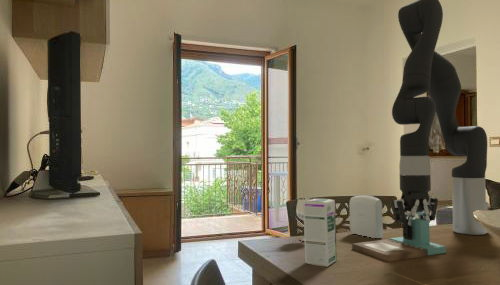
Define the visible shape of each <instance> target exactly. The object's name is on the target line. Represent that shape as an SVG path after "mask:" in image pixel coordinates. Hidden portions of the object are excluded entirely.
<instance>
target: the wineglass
mask: <svg viewBox="0 0 500 285" xmlns="http://www.w3.org/2000/svg"><path fill="white" fill-rule="evenodd" d="M312 199H314V198H311V197H301V198H298V199H297V202H296V209H295V210H296V216H297V218H298V219H300V220H302V221H304V204H303V202H304V201H309V200H312ZM303 240H304V237H303Z"/></svg>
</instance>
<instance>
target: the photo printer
mask: <svg viewBox="0 0 500 285" xmlns="http://www.w3.org/2000/svg"><path fill="white" fill-rule="evenodd" d="M348 205H349V206H348V207H349V232H350V233H354V234H358V235H362V236H361V237H363V236H367V237H366V238H369V237H371V238H370V239H375V238H381V239H383V237H384V227H383V226H384V225H383V224H384V222H383V221H384V220H383V203H382V200H381V199H379V198H377V197H375V196H372V195H367V194H365V195H364V194H363V195H356V196H352V197H351V198H350V200H349V204H348Z"/></svg>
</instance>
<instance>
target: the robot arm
mask: <svg viewBox="0 0 500 285" xmlns="http://www.w3.org/2000/svg"><path fill="white" fill-rule="evenodd" d="M443 10H444V9H443V7H442V5H441V2H440V0H415V1H413V2H410V3H408V4H407V5H404V6H402V7H400V9H398V12H397V16H398V17H397V18H398V19H397V20H398V22H399V26H400V29H401V31H402V33H403V35H404V37H405V39H406V42H407V43H408V46H409V48H410V49H411V51H410V53H409V54H408V56H407V58H406V59H405V62H404V66H403V71H402V82H401V85H400V88H399V92H398V93H397V95H396V97H395V100H394V102H393V105H392V109H391V115H392V119H393V121H394V122H395V123H396V124H397V125H403V126H404V125H419V126H418V128H417V129H416V130H415V131H413V132H412V131H411V132H409V133H405V134H402V135H401V136H400V139H399V155H400V156H399V165H398V167H399V169H398V170H399V190H400V191H401V197H400V198H399V199H393V200H392V201H391V203H392V210H393V212H394V217H395V218H394V219H395V222H396V223H399V224H401V225H402V237H403V236H404V238H405V239H408V240H412V225H411V224H412V220H413V217H414V218H416V215H417V216H418V217H417V218H419V219H424V220H429V224H430V222H432V221H435V219H436V215H437V208H438V202H439V200H438V198H437V197H430V195H429V192H430V191H431V189H432V188H431V187H432V181H431V180H432V179H431V175H432V174H431V162H430V144H429V142H430V135H431V131H432V130H431V129H432V126H433V122H434V119H435V115H436V116H437V121H438V122H439V128H440V131H441V135H442V138H443V142H444V145H445V148H446V149H447V151H448V152H449V154H451V155H452V156H458V157H459V156H460V157H461V156H462V157H465V156H466V160H465V161H464V162H463V163H462V164H461V165H458V166H455V167H453V168H452V170H451V194H452V195H451V196H452V198H451V199H452V231H453V232H454V233H457V234H463V235H471V236H473V235H476V236H478V235H479V236H480V235H486V234H487V233H489V230H488V231H487V230H486V229H485V228H483V227H482V225H481V224H480V223H478V222H477V221H476V220H475V218H474V216H473V212H474V211H476V210H488V211H489V207H488V206H489V205H488V204H489V202H488V201H487V200H486V199H487V195H486V189H487V188H486V171H487V166H488V161H487V160H488V159H487V158H488V136H487V133H486V131H485V129H484V128H483V127H482V126H479V125H473V126H472V125H469V126H460V125H459V123H458V120H457V117H456V116H457V115H456V109H457V105H458V102H459V99H460V96H461V92H462V84H461V81H460V79H459V74H458V72H457V69H456V67H455V65H454V64H453V63H452V62H451V61H449V59H447V58H445V57H444V56H443V55H442V54H440V53H439V52H437V51H436V50H435V49H436V47H437V42H438V40H439V36H440V32H441V28H442V24H443V17H444V12H443ZM426 93H428V96H421V95H424V94H426ZM407 217H408V220H407Z"/></svg>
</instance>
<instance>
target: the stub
mask: <svg viewBox="0 0 500 285" xmlns="http://www.w3.org/2000/svg"><path fill="white" fill-rule="evenodd" d="M407 220H408V216H407ZM411 225H412V240H408V239H405V238H404V236H403V235H402V236H398V237H390V238H388V239H390V240H394V241H398V242H400V243H403V244H408V245H412V246H414V247H418V248H423V249H425V250H426V256H432V255H433V256H434V255H438V254H439V255H441V254H446V253H447V251H446V250H447V249H446V245H443V244H438V243H434V242H431V241H430V239H431V237H430V223H429V220H424V219H419V217H413V220H412V224H411Z"/></svg>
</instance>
